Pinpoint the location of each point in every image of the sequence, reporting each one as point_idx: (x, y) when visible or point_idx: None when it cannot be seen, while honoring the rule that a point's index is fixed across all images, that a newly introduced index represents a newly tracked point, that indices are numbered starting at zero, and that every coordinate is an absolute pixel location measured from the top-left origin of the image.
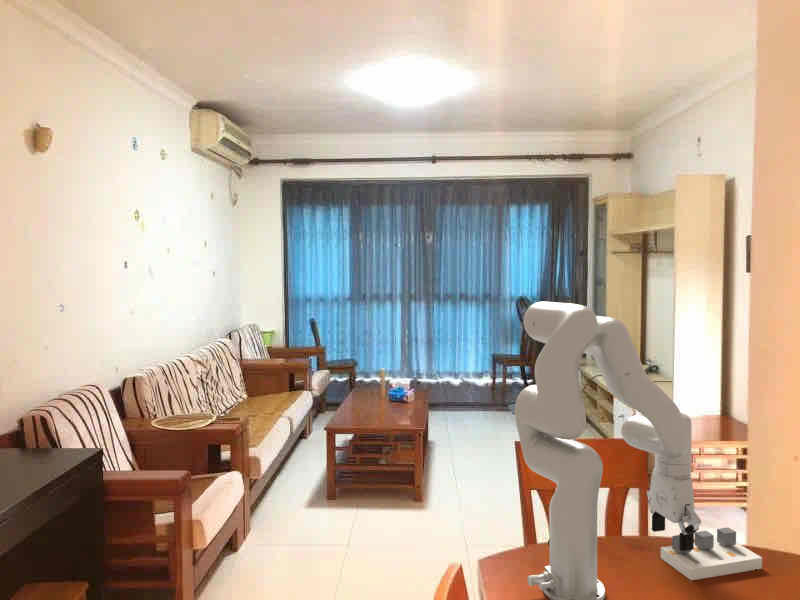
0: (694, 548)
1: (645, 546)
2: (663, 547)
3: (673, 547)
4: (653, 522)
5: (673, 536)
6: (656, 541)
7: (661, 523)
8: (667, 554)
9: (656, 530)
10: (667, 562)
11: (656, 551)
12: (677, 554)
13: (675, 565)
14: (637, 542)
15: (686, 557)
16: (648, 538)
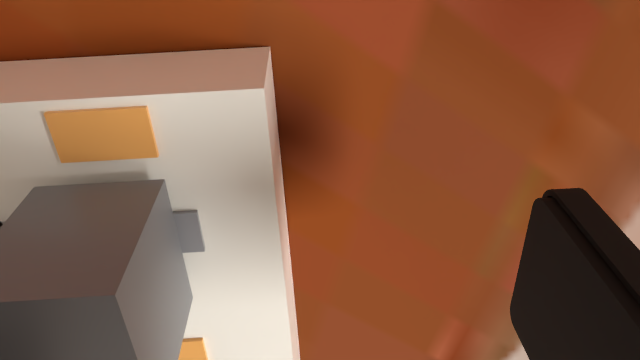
0: (182, 358)
1: (529, 37)
2: (256, 118)
3: (133, 195)
4: (617, 276)
5: (96, 300)
6: (557, 188)
7: (557, 354)
8: (137, 84)
9: (533, 229)
10: (158, 53)
11: (401, 84)
12: (72, 170)
13: (22, 71)
14: (637, 5)
15: (3, 218)
16: (636, 155)
